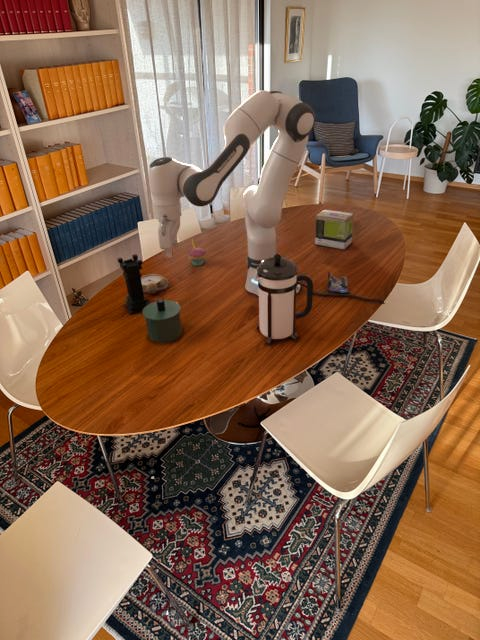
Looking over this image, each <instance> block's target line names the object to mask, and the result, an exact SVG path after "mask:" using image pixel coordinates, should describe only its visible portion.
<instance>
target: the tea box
mask: <svg viewBox="0 0 480 640" xmlns="http://www.w3.org/2000/svg"><path fill="white" fill-rule="evenodd" d="M354 216H355V213H353V212H345V211H339V210H331V209H323V210H322V211H320V212H318V213H317V214H316V215H315V236H314V238H315V239H314V245H318V246H323V247H324V246H325V247H328V248H334V249H339V250H345V249H347V248H348V247H349V246H350V245H351V244H352V242H353V241H352V240H353V229H354Z"/></svg>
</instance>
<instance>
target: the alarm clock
mask: <svg viewBox="0 0 480 640" xmlns="http://www.w3.org/2000/svg"><path fill="white" fill-rule="evenodd" d="M141 282H142V287H143V293H148V294H149V295H155V294H157V293H158V292H159V291H163V290H166V289H167V288H168V286H169V280H168V279H167V278H166V277H164V276H163V275H161V274H160V273H159V274H158V273H150V274H145V275H142V277H141Z"/></svg>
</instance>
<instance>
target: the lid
mask: <svg viewBox="0 0 480 640" xmlns="http://www.w3.org/2000/svg"><path fill="white" fill-rule="evenodd" d="M181 308H182V307H181V305H180V304H179V303H178V302H177V301H174V300H171V299H170V300H168V299H163V298H158V299H156V300H155V301H152V302H150V303H149V304H148V305H147V306H146V307H145V308H144V309H143V311H142V312H141V313H142V316H143V318H146V319H148V320H152V321H164V320H169V319H171V318H174V317H175V316H177V315H178V314H179V313H180V314H181V310H182V309H181ZM146 319H145V320H146Z"/></svg>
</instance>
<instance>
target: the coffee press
mask: <svg viewBox="0 0 480 640" xmlns="http://www.w3.org/2000/svg"><path fill="white" fill-rule="evenodd" d="M298 268H299V267H298V266H297V265H296V263H295V262H294V261H293V260H292V259H290V258H288V257H283V256H282V255H281V253H280V254H279V253H278V254H275V255H274V257H272V258H268V259H265V260H264V261H262V262H261V263H260V265H259V267H258V268H257V273H256V276H255V279H254V281H258V287H259V296H258V317H259V319H258V320H259V321H258V323H259V325H258V326H257V327H256V330H258V329H259V332H260V333H261V334H262V335H263V336H264V337H266V342H265V343H266V345H270V346H271V345H272V343H273V340H283V339H286V338H289V337H290V338H292V340H294V341H296V340H297V339H298V338H299V335H298V333H297V332H296V323H297V322H296V321H297V320H298V319H302V318H304V317H306V316H308V315H309V314H310V312H311V310H312V308H313V302H314V301H313V300H314V294H313V291H314V283H313V280H312V278H311V277H309V276H308V275H306V274H299V275H298V273H299V269H298ZM297 281H300V282H305V283H306V285H307V288H306V305H305V308H304V309H303V311H301V312H296V311H297V310H296V309H297V308H296V307H297V306H296V304H297V301H296V300H297V294H296V286H297Z"/></svg>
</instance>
